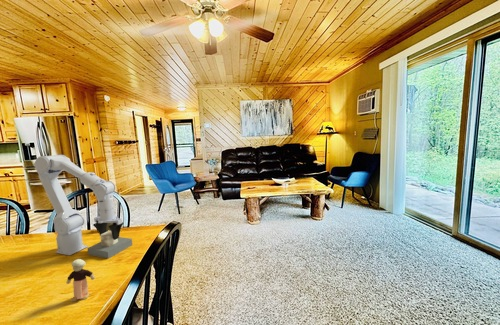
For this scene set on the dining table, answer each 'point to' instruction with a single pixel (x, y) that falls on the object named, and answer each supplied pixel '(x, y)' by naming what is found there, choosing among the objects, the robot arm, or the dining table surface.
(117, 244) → the base plinth
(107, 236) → the cream cube
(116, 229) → the robot arm
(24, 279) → the dining table surface
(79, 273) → the grandmother figurine
